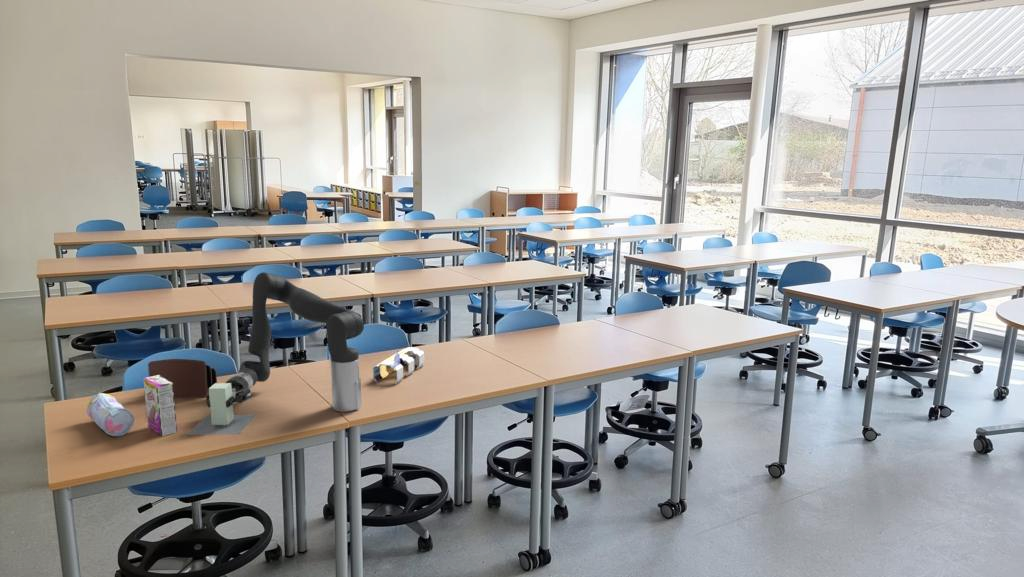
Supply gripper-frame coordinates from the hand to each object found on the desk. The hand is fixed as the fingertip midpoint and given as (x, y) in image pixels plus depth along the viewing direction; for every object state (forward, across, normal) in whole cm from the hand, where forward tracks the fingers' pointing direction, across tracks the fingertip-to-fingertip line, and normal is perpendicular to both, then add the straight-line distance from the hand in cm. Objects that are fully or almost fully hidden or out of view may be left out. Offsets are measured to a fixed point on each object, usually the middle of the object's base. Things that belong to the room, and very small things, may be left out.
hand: (218, 404), depth 205 cm
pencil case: (-1, -34, +8) cm, 35 cm away
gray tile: (-3, 0, +8) cm, 8 cm away
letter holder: (-33, -25, +8) cm, 42 cm away
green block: (-3, 0, +7) cm, 7 cm away
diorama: (-54, +50, +9) cm, 74 cm away
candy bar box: (+1, -17, +8) cm, 19 cm away
